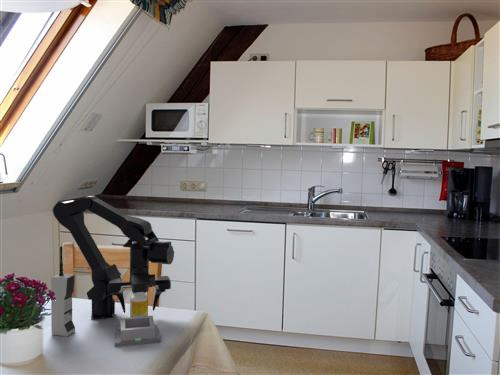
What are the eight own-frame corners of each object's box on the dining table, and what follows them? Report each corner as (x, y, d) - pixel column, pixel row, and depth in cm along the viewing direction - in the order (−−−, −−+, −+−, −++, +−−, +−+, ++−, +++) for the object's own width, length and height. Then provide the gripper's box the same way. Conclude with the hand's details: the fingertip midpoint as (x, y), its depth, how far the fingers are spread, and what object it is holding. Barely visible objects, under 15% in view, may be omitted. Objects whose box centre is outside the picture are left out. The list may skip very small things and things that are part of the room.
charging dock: (114, 346, 115) (114, 331, 114) (115, 331, 124) (115, 318, 124) (160, 342, 118) (160, 327, 118) (157, 327, 128) (157, 314, 127)
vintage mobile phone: (67, 337, 120) (66, 248, 118) (51, 335, 121) (50, 247, 119) (75, 331, 124) (74, 245, 122) (59, 329, 125) (59, 244, 123)
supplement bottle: (127, 318, 134) (127, 288, 134) (143, 314, 138) (143, 285, 137) (134, 324, 130) (134, 292, 129) (151, 320, 134) (151, 289, 133)
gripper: (106, 270, 122) (106, 323, 123) (173, 267, 128) (172, 318, 129) (107, 260, 133) (107, 310, 134) (169, 258, 138) (168, 305, 139)
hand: (139, 311), depth 134 cm, fingers open, 8 cm apart
